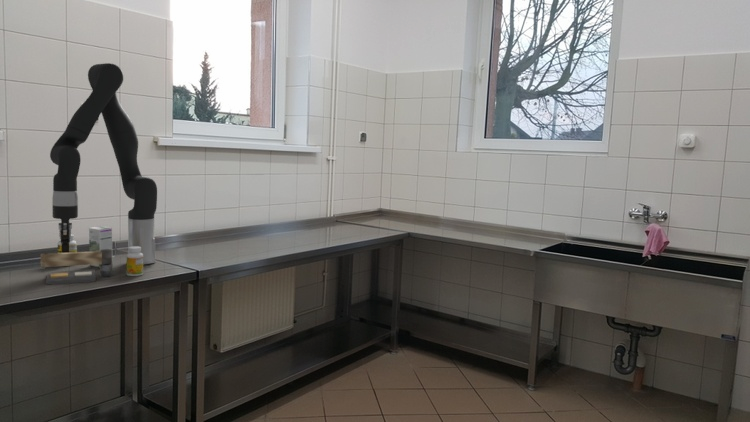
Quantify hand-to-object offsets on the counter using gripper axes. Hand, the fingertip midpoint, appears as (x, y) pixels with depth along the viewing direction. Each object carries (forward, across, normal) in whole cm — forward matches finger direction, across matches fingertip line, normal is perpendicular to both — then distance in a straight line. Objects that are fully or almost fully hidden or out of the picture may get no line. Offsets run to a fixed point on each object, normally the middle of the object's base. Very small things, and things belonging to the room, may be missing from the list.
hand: (65, 254), depth 187 cm
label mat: (+7, -7, -2) cm, 10 cm away
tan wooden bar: (+3, -7, -4) cm, 8 cm away
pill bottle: (+7, +16, 0) cm, 18 cm away
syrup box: (+7, +10, -11) cm, 17 cm away
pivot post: (+7, -7, -12) cm, 16 cm away
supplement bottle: (+7, -8, -21) cm, 24 cm away
